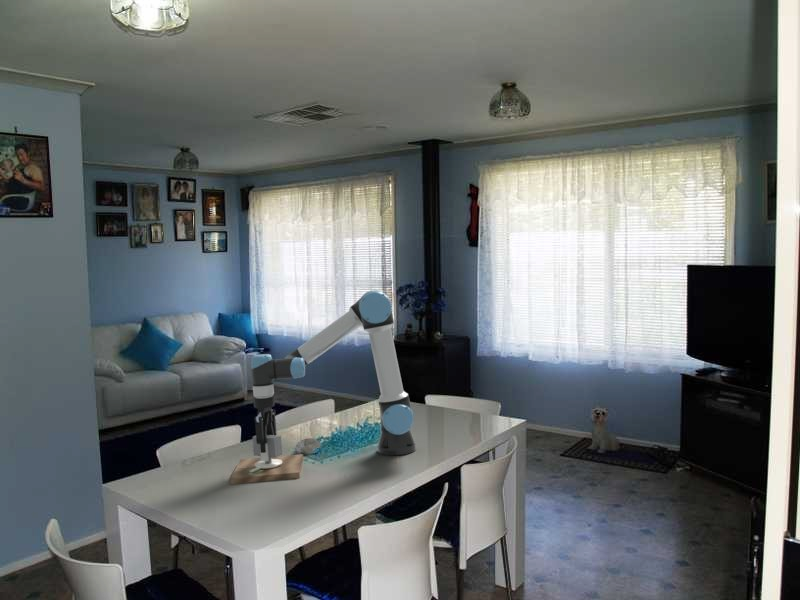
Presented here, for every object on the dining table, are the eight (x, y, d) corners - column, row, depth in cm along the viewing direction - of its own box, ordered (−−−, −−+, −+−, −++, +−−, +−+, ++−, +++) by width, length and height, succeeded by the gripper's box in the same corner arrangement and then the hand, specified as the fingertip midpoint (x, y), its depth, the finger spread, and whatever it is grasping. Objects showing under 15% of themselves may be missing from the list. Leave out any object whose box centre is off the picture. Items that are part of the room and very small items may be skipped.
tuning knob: (266, 459, 242) (264, 432, 242) (287, 461, 237) (285, 433, 237) (240, 471, 228) (238, 442, 228) (262, 473, 224) (260, 444, 224)
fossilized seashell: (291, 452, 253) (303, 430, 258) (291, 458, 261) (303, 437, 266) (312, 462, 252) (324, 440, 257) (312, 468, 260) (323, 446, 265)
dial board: (303, 459, 248) (303, 453, 248) (299, 477, 224) (299, 471, 224) (241, 464, 246) (240, 459, 246) (230, 484, 222) (230, 477, 222)
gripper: (264, 392, 244) (269, 451, 245) (243, 401, 227) (247, 465, 227) (283, 391, 242) (287, 451, 243) (262, 401, 225) (267, 465, 226)
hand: (268, 458), depth 235 cm, fingers open, 5 cm apart
